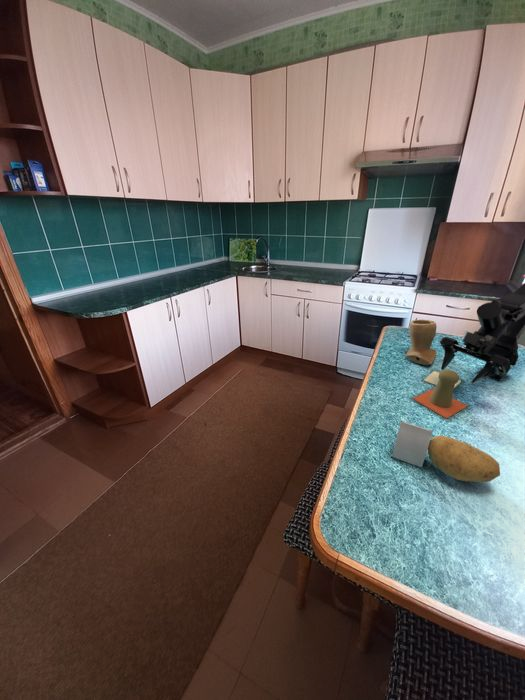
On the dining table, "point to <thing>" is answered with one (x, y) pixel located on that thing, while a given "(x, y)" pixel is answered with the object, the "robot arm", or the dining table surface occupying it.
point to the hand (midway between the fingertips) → (456, 376)
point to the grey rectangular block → (412, 443)
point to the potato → (462, 460)
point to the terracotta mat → (443, 412)
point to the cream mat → (436, 379)
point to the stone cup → (422, 341)
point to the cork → (444, 389)
